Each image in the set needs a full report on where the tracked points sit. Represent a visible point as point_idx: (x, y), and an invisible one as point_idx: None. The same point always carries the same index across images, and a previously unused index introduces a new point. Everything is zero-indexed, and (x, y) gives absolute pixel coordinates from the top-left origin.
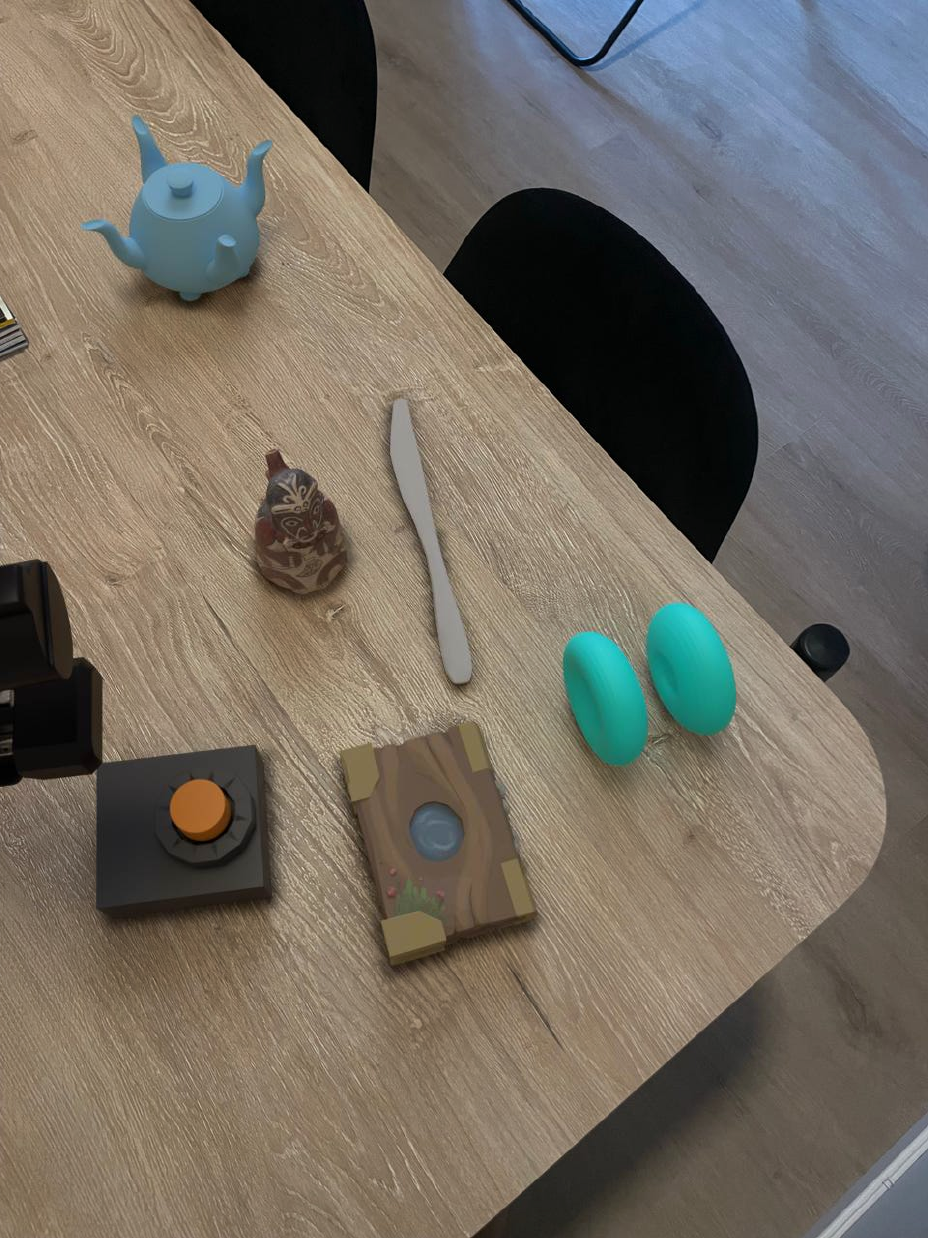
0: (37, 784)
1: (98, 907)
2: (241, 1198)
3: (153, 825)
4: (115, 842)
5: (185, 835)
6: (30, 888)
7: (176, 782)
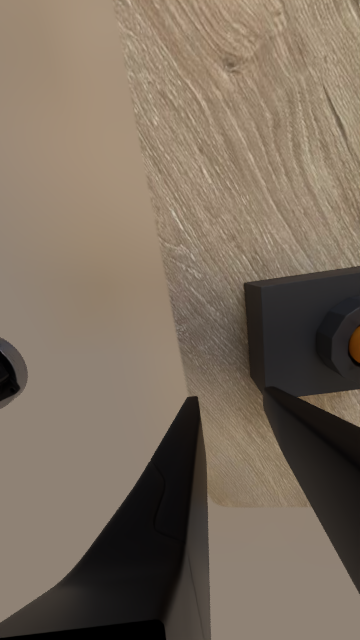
0: (187, 286)
1: None
2: None
3: (311, 340)
4: (280, 354)
5: (357, 361)
6: (194, 358)
7: (355, 314)
